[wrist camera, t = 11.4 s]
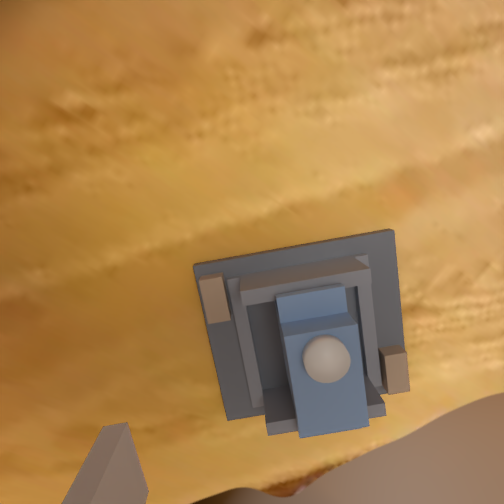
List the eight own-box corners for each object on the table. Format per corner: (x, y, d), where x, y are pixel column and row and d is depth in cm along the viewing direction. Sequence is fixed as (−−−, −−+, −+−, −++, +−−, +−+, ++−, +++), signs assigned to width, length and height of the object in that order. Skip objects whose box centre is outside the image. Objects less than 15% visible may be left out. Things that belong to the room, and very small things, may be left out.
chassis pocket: (228, 413, 33) (224, 459, 28) (194, 263, 30) (183, 281, 25) (403, 383, 33) (434, 423, 28) (389, 228, 30) (421, 238, 24)
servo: (289, 392, 32) (307, 472, 23) (270, 275, 29) (280, 315, 21) (340, 384, 32) (377, 460, 23) (325, 265, 29) (359, 301, 21)
